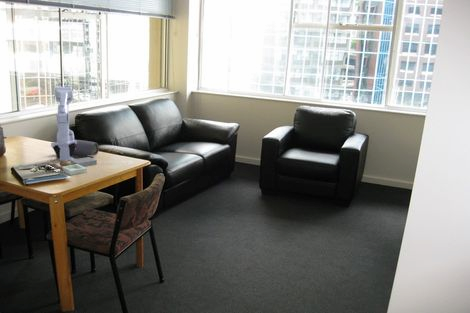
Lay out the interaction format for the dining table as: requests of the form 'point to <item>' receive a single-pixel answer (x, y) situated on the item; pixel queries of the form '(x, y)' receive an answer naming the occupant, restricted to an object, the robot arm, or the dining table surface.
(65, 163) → the roller
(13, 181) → the dining table surface
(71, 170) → the tray
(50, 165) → the bar
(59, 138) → the robot arm
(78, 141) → the bluetooth speaker
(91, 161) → the slab
